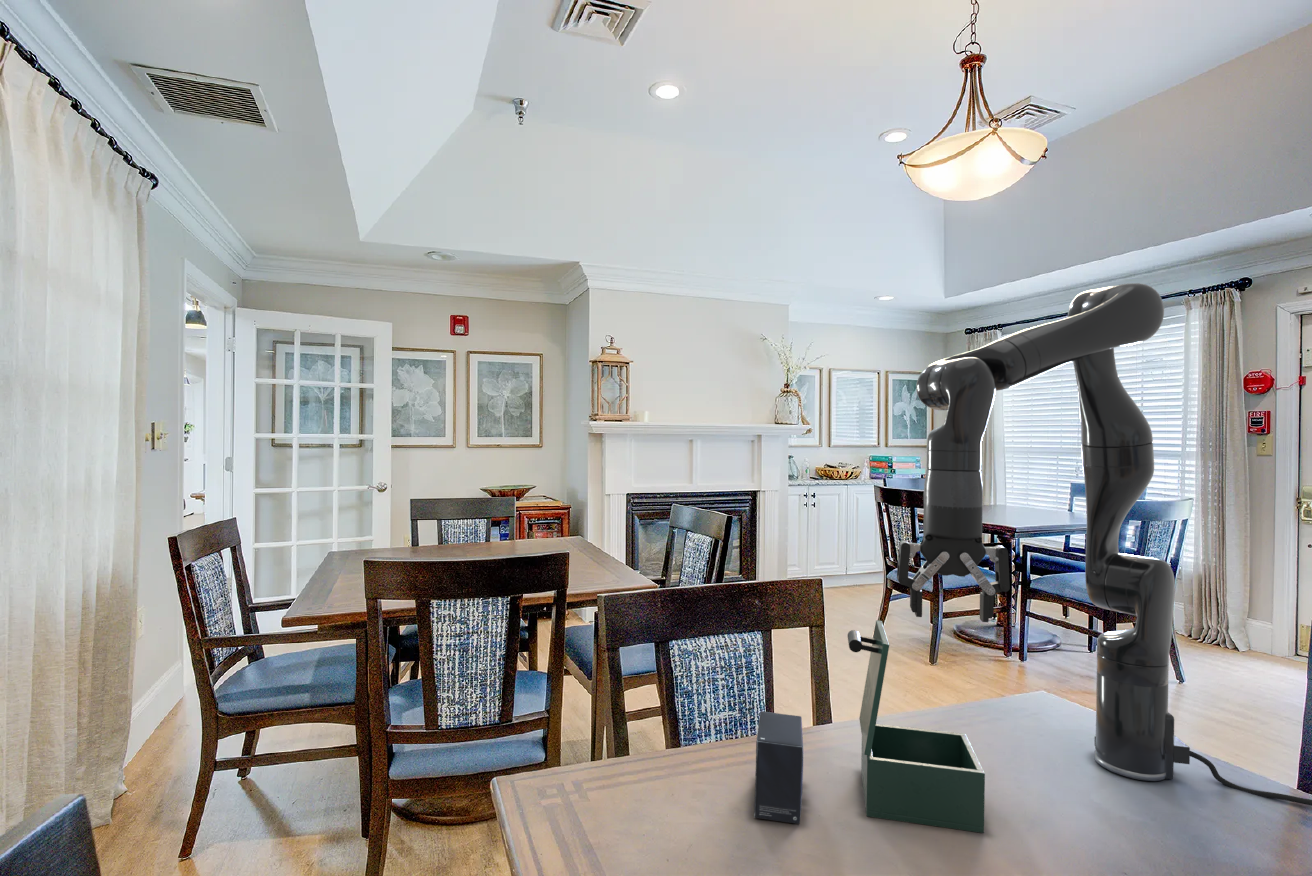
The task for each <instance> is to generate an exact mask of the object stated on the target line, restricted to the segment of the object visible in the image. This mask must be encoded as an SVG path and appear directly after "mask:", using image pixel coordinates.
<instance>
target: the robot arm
mask: <svg viewBox="0 0 1312 876" xmlns="http://www.w3.org/2000/svg"><path fill="white" fill-rule="evenodd" d="M1164 317H1165V305H1164V301H1163V298H1162V297H1161V295H1160V293H1159V292H1158V291H1157V290H1156V289H1155V288H1153V287H1152V286H1150V285H1148V284H1144V283H1140V282H1131V283H1130V282H1128V283H1121V284H1116V285H1110V286H1105V287H1100V288H1094V289H1089V290H1085V291H1082V292H1080V293H1078V294H1077V295H1076V296H1075V297H1074V298H1073V299H1072V301H1071V302H1070V305H1069V308H1068V312H1067V317H1065V318H1062V319H1059V320H1055V321H1051V322H1047V323H1043V324H1039V325H1037V326H1036V325H1035V326H1032V327H1030V328H1024V329H1022V330H1019V331H1017V332H1013V333H1011V334H1009V335H1006V336H1003V337H1001V338H999V339H996V340H994V341H992V342H990V343H987V344H986V345H984V346H981V347H979V348H976V349H973V350H970V351H965V352H962V353H958V354H955V355H952V356H949V357H945V358H943V359H940V360H937V361H935V362H933V363H930V364H929V365H927V366H925V368H924V369H923V370H922V371H921V373H920V374H919V376H918V378H917V380H916V385H915V390H916V395H917V397H918V399H919V401H920V402H921V403H922V404H923V405H925V406H926V407H927V408H928V409H932V410H936V411H947V412H946V415H945V418H944V422H943V424H942V425H940V426H939V427H935V428H933V429H932V430H930V431H929V433H928V434H927V438H926V454H925V455H926V458H925V459H926V460H925V462H926V463H925V466H926V467H925V469H926V470H925V477H924V483H923V493H922V500H923V523H922V524H923V529H922V531H923V532H922V534H923V535H922V540H921V542H920V543H917V542H908V541H907V540H905V539H903V540H901V541H899V544H898V555H897V557H898V558H897V571H896V579H897V582H898V583H899V584H900V585H901V586H904V587H907V588H909V608H910V610H911V611H912V612H911V613H914V615H915V617H916V618H922V617H923V590H922V588H923V587H924V585H926V584H927V582H928V581H929V580H931V579H932V578H933V577H934V575H936V574H938V575H940V576H943V577H944V576H945V577H947V576H956V577H962V578H965V577H966V576H969V575H970V576H971V577H972V578H973V579H974V581H975V582H976V583H977V584H978V586H979V588H981V592H979V620H980V621H981V622H982V623H989V621H990V619H993V617H994V615H995V613H994V612H995V611H994V610H995V596H996V595H997V594H999V593H1002V592H1005V593H1006V592H1009V591H1010V588H1011V584H1010V564H1009V563H1010V562H1009V550H1008V549H1007V548H1006V547H1004V546H1003V545H1000V544H997V545H995V546H985V545H984V543H983V513H984V512H983V509H984V507H983V505H984V503H983V501H984V500H983V499H984V488H983V487H984V486H983V477H982V471H981V470H982V441H983V437H984V435H985V431H986V428H987V425H988V422H989V418H990V415H991V412H992V408H993V405H994V401H995V395H996V391H1003V390H1007V389H1010V388H1013V387H1016V386H1019V385H1020V384H1023V383H1025V382H1028V381H1030V380H1031V379H1034V378H1036V377H1038V376H1040V375H1043V374H1045V373H1047V372H1050V371H1052V370H1054V369H1057V368H1060V367H1062V366H1064V365H1066V364H1069V363H1073V368H1074V374H1075V381H1076V387H1077V396H1078V397H1077V398H1078V406H1079V407H1078V408H1079V419H1080V439H1081V440H1080V444H1081V459H1082V470H1083V471H1082V472H1083V480H1084V481H1083V482H1084V488H1085V489H1084V492H1085V504H1086V505H1085V507H1086V509H1085V512H1086V532H1085V533H1086V534H1085V535H1086V536H1085V537H1086V538H1085V561H1084V563H1085V564H1084V565H1085V566H1084V567H1085V568H1084V571H1085V572H1084V579H1085V588H1086V593H1087V595H1088V598H1089V600H1090V602H1091V603H1092V604H1093V605H1094V606H1096V607H1097V608H1099V609H1103V610H1109V611H1112V612H1117V613H1122V614H1127V615H1132V616H1136V622H1135V626H1134V627H1133V628H1129V629H1125V630H1124V629H1123V630H1111V631H1106V632H1102V633H1100V634H1099V635H1098V637H1097V639H1096V682H1095V683H1096V688H1095V689H1096V690H1095V691H1096V694H1095V696H1096V697H1095V736H1094V749H1095V750H1094V760H1095V762H1096V763H1097V764H1098V765H1100V766H1101V767H1102V768H1104V769H1106V770H1108V771H1110V772H1112V773H1114V774H1117V775H1121V776H1123V777H1126V778H1129V779H1133V780H1134V779H1135V780H1140V781H1147V782H1157V781H1159V782H1160V781H1163V780H1174V776H1175V775H1174V773H1175V771H1174V768H1175V767H1174V766H1175V765H1174V764H1183V765H1190V762H1191V761H1190V760H1191V759H1190V758H1193V759H1195V760H1198V761H1200V762H1201V763H1202V764H1204V765H1205V766H1206V767H1208V768H1209V770H1210V773H1211V775H1212V776H1213V778H1214V779H1215V780H1216V781H1217V782H1218V783H1220V784H1222V785H1224V786H1226V787H1228V788H1231V789H1235V790H1238V791H1242V792H1245V793H1247V794H1248V793H1249V794H1252V795H1255V796H1258V797H1263V798H1267V799H1268V798H1269V799H1274V800H1281V801H1287V802H1292V803H1297V804H1301V805H1307V806H1310V807H1312V799H1310V798H1305V797H1301V796H1296V795H1290V794H1285V793H1279V792H1272V791H1265V790H1257V789H1252V788H1247V787H1244V786H1240V785H1237V784H1235V783H1234V782H1231V781H1230V780H1227V779H1226V778H1224V777H1222V776H1221V775H1220V774H1219V772H1218V770H1217V768H1216V766H1215V765H1214V764H1213V763H1212V761H1210V760H1209V759H1207V758H1206V757H1204V756H1203V755H1201V754H1199V753H1197V752H1194V751H1192V750H1191V748H1190V746H1189V745H1187V744H1186V743H1185V742H1184V741H1183V740H1181V739H1180V738H1179V737H1178V736H1177V735H1175V717H1174V715H1172V714H1171V713H1170V712H1169V670H1170V669H1169V668H1170V667H1169V664H1170V651H1171V645H1172V635H1173V634H1172V633H1173V619H1174V618H1173V617H1174V606H1175V595H1176V594H1175V593H1176V581H1175V575H1174V571H1173V569H1172V566H1170V564H1169V563H1168V562H1167V561H1165V560H1164V559H1159V558H1154V557H1149V556H1141V555H1134V554H1127V553H1120V551H1119V538H1120V532H1121V527H1122V524H1123V522H1124V521H1125V519H1126V517H1127V515H1128V514H1129V513H1130V511H1131V509H1132V508H1133V507H1134V505H1135V504H1136V503H1137V502H1138V500H1139V499H1140V497H1141V496H1142V495H1143V493H1144V492H1145V490H1146V489H1147V487H1148V486H1149V484H1150V483H1151V481H1152V479H1153V476H1154V474H1155V473H1154V472H1155V455H1154V453H1155V452H1154V438H1153V432H1152V428H1151V426H1150V423H1149V422H1148V420H1147V417H1145V415H1144V413H1143V412H1142V411H1141V409H1140V408H1139V406H1138V405H1137V403H1136V402H1135V401H1134V400H1133V398H1132V397H1131V396H1130V395H1129V393H1128V392H1127V390H1126V389H1125V387H1124V385H1123V383H1122V382H1121V379H1120V377H1119V374H1118V370H1117V364H1116V356H1115V348H1119V347H1126V346H1128V347H1129V346H1133V345H1136V344H1140V343H1143V342H1146V341H1147V340H1149V339H1151V338H1152V337H1154V335H1155V334H1156V333H1157V332H1159V329H1160V328H1161V326H1162V324H1163V321H1164ZM918 552H920V554H921V556H923V558H924V559H925V562H924V563H923V564H922V565H921V566H920V567H919V569H918V571H917V572H916V573H915V574H914V576H913V577H911V576H909V571H910V570H909V569H910V559H913V558H915V557H916V553H918ZM986 556H988V557H989V560H990V561H991V562H992V563H994V576H995V581H992V582H990V581H989V580H988V578H987V576H986V575H985V574H984V573H983V571H982V570H981V569H980V568H979V566H978V565H979V564H980V563H981V561H983V559H984V558H985V557H986Z"/></svg>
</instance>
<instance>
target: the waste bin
mask: <svg viewBox="0 0 1312 876" xmlns="http://www.w3.org/2000/svg"><path fill="white" fill-rule="evenodd" d="M860 756H861V757H860V758H861V761H860V763H861V766H860V774H861V782H862V783H861V784H862V791H863V798H864V809H865V815H866V817H868V818H876V819H884V820H890V821H898V822H904V823H909V824H910V823H911V824H918V825H923V826H925V825H926V826H930V827H938V828H946V829H952V830H961V831H966V832H974V833H980V834H985V794H986V793H985V792H986V791H985V790H986V789H985V787H986V773H985V771H984V769H983V767H982V765H981V763H980V761H979V759H978V757H977V755H976V752H975V751H974V748H973V747H972V744H971V742H970V741H969V739H968V735H967V734H966V733H962V732H955V731H953V732H952V731H944V730H934V729H926V728H917V727H909V726H900V725H890V724H881V723H876V726H875V732H874V738H873V744H872V750H871V756H868V755H865V754H864V748H863V741H862V740H861V755H860Z"/></svg>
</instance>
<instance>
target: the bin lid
mask: <svg viewBox="0 0 1312 876" xmlns="http://www.w3.org/2000/svg"><path fill="white" fill-rule="evenodd" d="M847 643H848V648H849V650H850V651H851V652H852V653H859V652H861V651H867V652H870V654H869V659H868V665H867V671H866V676H865V683H864V688H863V694H862V700H861V705H860V706H861V707H860V712H859V718H858V719H859V725H860V726H859V727H860V733H861V742H862V741H863V748H864V754H865V755H868V756H871V750H872V744H873V738H874V732H875V726H876V724H877V721H878V720H877V719H878V716H879V715H878V714H879V708H880V702H881V697H882V691H883V685H884V678H885V673H886V668H887V663H888V657H889V650H890V643H889V640H888V636H887V634H886V631H885V627H884V624H883V621H882V620H878V619H876V620H875V624H874V630H873V636H872V637H869V636H864V635H861V634H860V632H859V631H858V630H857V629H851V630H849V631H848V633H847Z"/></svg>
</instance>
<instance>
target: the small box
mask: <svg viewBox="0 0 1312 876" xmlns="http://www.w3.org/2000/svg"><path fill="white" fill-rule="evenodd" d="M803 735H804V734H803V721H802V716H801V715H794V714H785V713H779V712H770V711H764V710H760V712H759V719H758V725H757V733H756V743H755V776H754V777H755V781H754V783H755V784H754V786H755V787H754V804H753V818H754V819H761V820H767V821H768V820H769V821H774V822H782V823H789V824H796V825H800V824H801V815H802V805H803V804H802V802H803V780H804V737H803Z"/></svg>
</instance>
